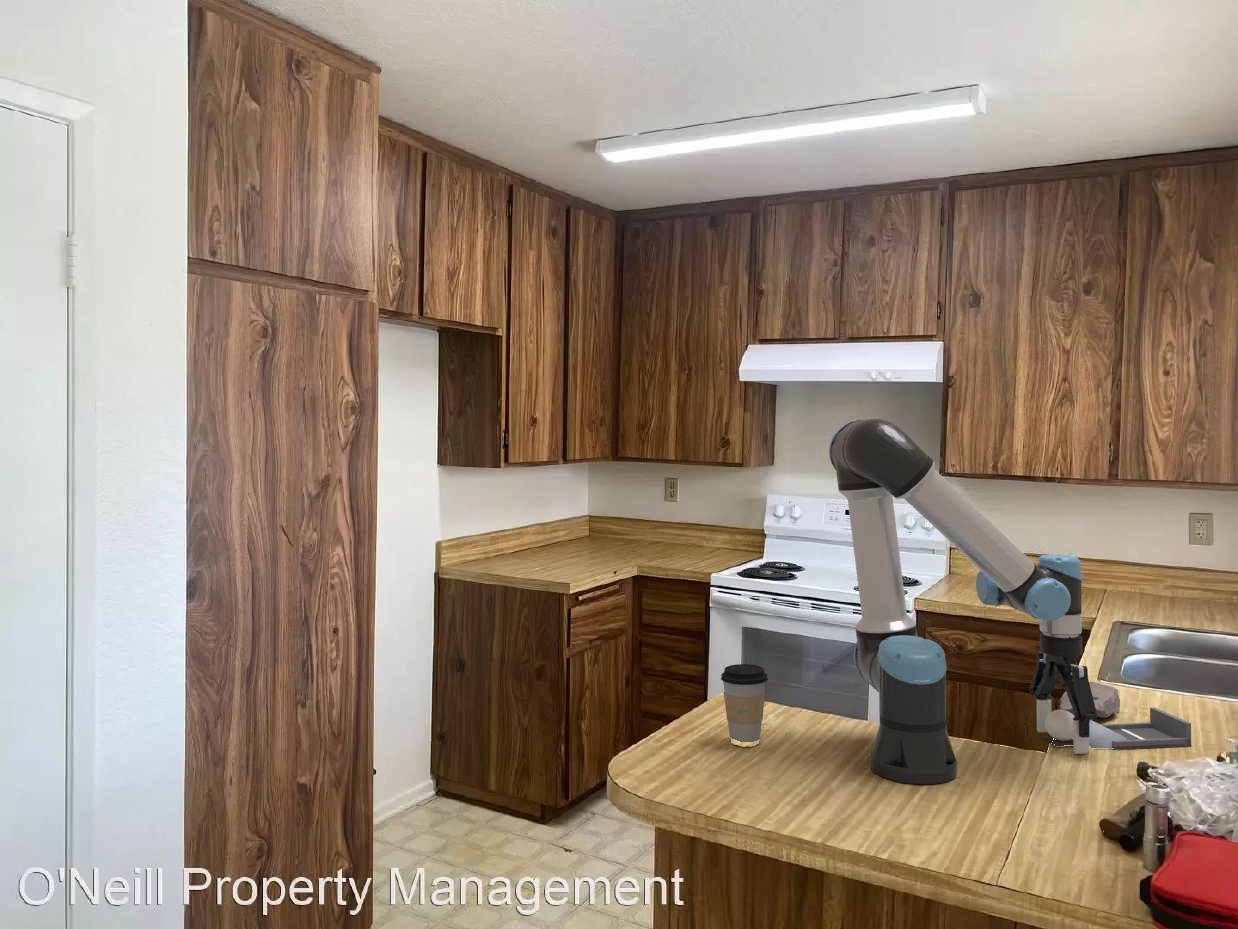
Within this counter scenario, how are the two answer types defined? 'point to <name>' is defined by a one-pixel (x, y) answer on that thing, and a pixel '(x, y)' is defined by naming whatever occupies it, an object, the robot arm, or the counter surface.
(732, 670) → the coffee cup
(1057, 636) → the robot arm
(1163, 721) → the tray
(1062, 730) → the ball
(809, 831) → the counter surface
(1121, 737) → the grey wedge
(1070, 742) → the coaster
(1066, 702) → the stone
